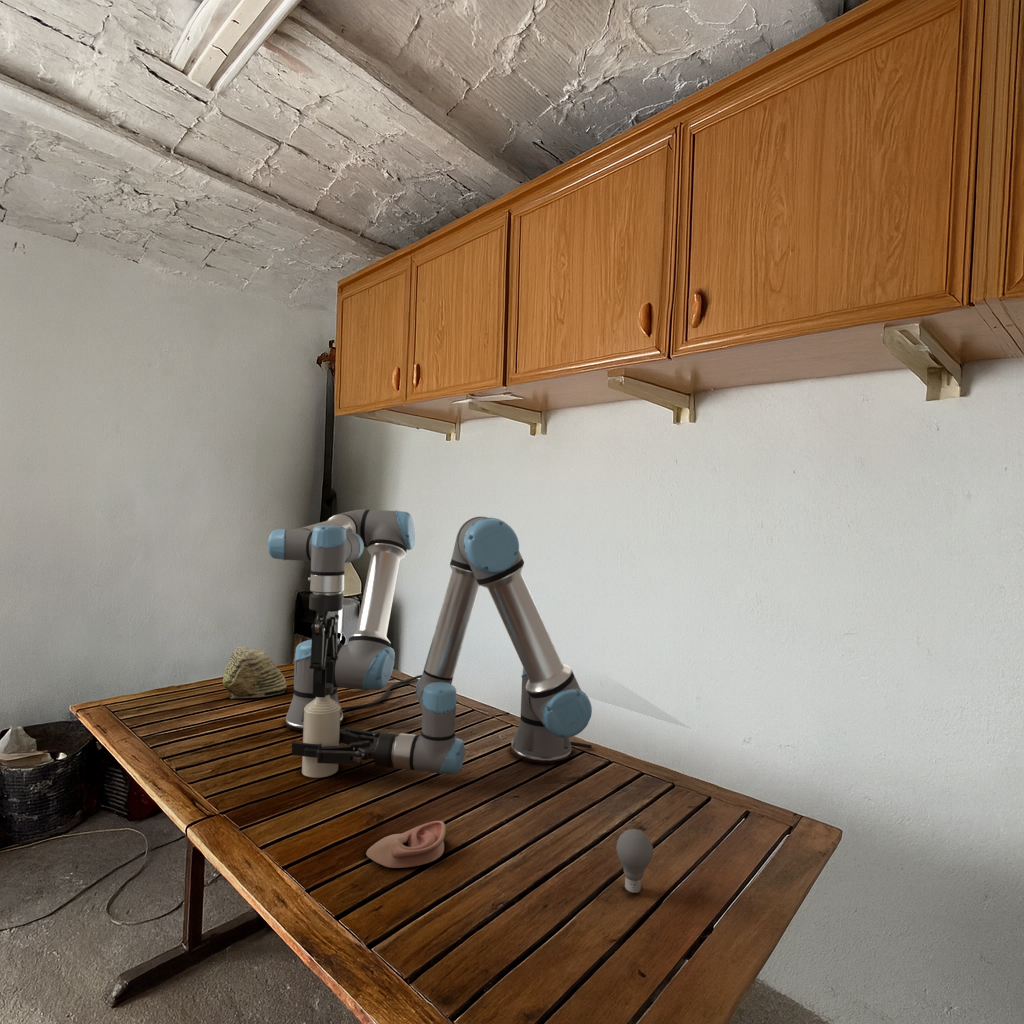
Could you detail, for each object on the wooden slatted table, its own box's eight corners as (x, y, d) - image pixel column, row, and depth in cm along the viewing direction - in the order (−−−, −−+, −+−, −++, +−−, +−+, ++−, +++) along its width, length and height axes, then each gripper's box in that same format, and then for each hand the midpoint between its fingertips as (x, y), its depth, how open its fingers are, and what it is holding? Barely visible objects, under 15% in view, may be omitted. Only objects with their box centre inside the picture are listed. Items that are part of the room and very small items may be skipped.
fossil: (218, 695, 195) (220, 647, 195) (278, 685, 208) (279, 640, 207) (228, 703, 189) (230, 653, 188) (289, 692, 201) (290, 645, 201)
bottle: (345, 768, 148) (348, 687, 148) (320, 780, 141) (323, 696, 141) (319, 760, 152) (322, 681, 152) (293, 772, 145) (297, 689, 145)
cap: (336, 693, 147) (337, 685, 147) (320, 697, 143) (320, 689, 143) (325, 688, 149) (325, 681, 149) (309, 692, 146) (309, 685, 146)
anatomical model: (359, 840, 110) (385, 809, 121) (358, 862, 110) (384, 829, 121) (431, 852, 107) (451, 819, 119) (431, 875, 107) (451, 840, 119)
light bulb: (610, 879, 108) (613, 822, 108) (644, 879, 109) (647, 822, 109) (619, 902, 102) (622, 840, 102) (655, 901, 103) (658, 840, 103)
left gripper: (322, 586, 155) (318, 680, 155) (297, 598, 137) (293, 704, 137) (353, 587, 155) (349, 681, 156) (331, 599, 137) (327, 706, 137)
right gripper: (379, 787, 134) (278, 776, 137) (409, 749, 154) (320, 740, 158) (380, 752, 134) (279, 741, 137) (410, 718, 154) (322, 710, 157)
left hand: (323, 692), depth 146 cm, fingers open, 5 cm apart
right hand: (301, 741), depth 147 cm, fingers closed on bottle, 8 cm apart
